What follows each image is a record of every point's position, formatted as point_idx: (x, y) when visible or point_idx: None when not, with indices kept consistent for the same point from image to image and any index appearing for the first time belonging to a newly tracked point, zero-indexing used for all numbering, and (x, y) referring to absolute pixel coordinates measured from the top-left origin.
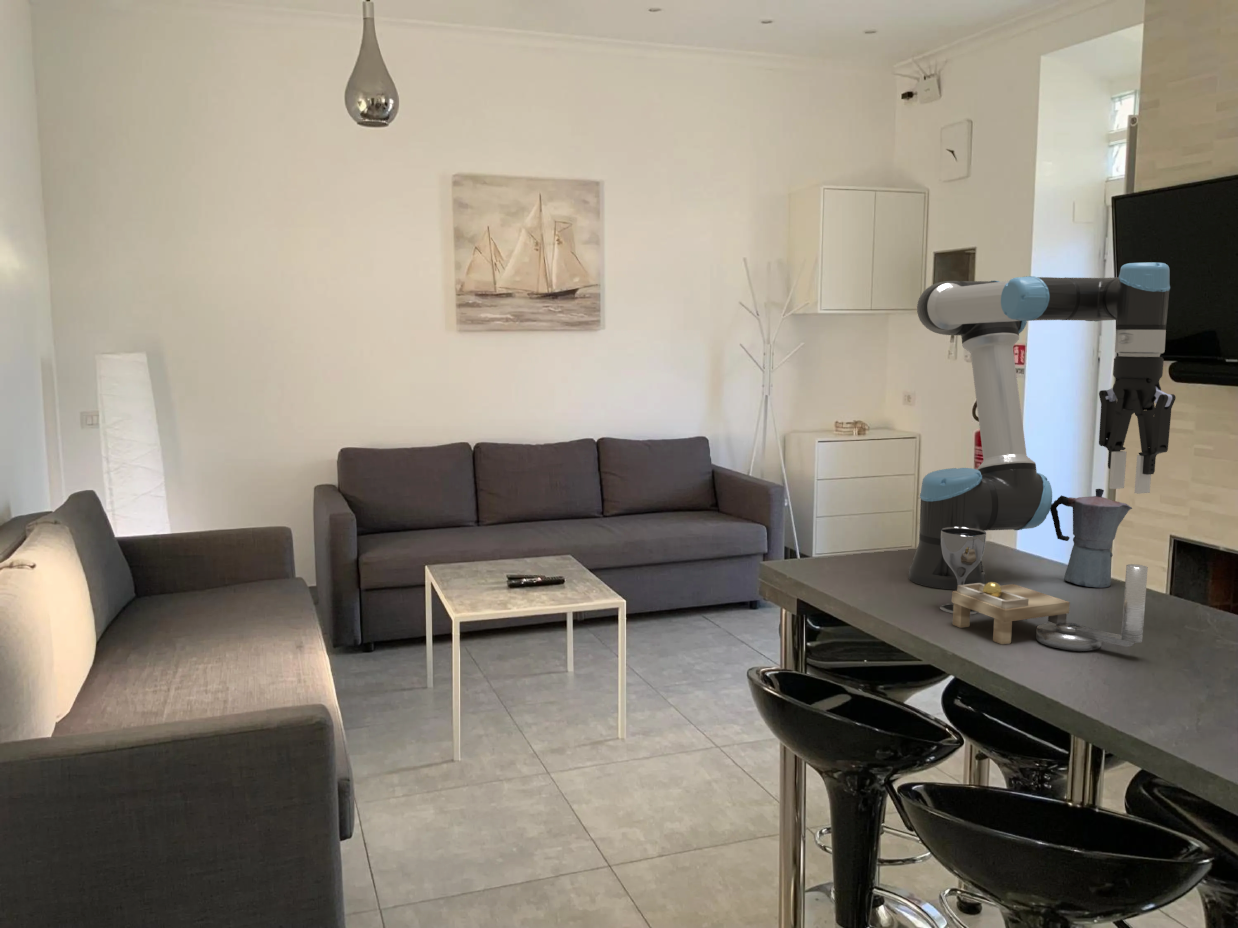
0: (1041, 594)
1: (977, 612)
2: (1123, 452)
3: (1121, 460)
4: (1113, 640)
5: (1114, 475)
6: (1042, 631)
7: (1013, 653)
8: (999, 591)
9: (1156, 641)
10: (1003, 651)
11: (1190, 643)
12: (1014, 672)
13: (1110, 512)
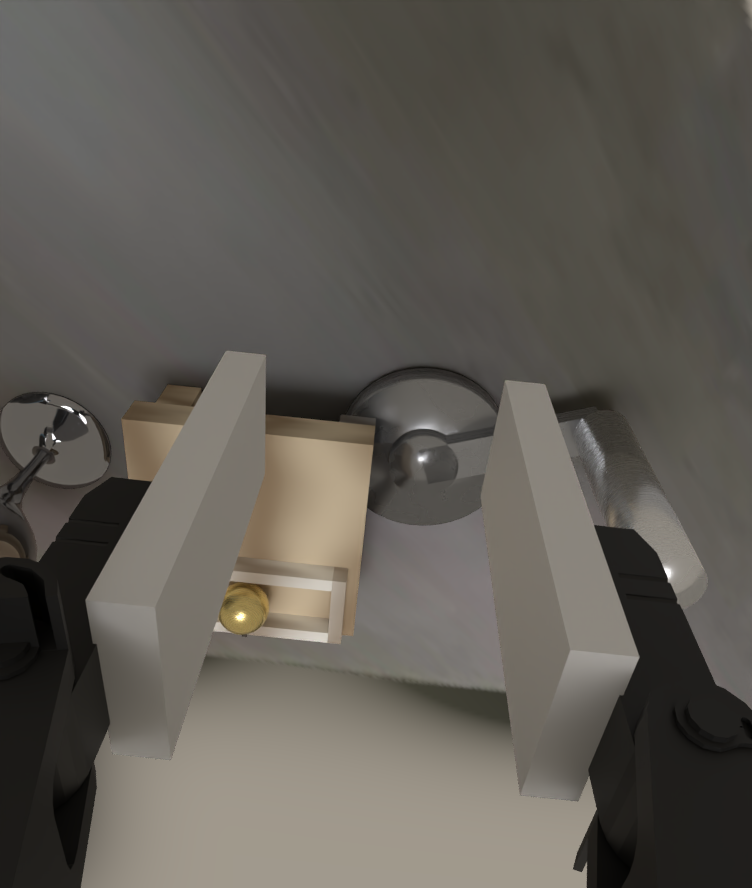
0: (266, 446)
1: (101, 428)
2: (166, 647)
3: (198, 582)
4: None
5: (241, 541)
6: (389, 510)
7: (412, 591)
8: (268, 609)
9: (556, 200)
10: (391, 597)
11: (639, 110)
12: (495, 664)
13: None
